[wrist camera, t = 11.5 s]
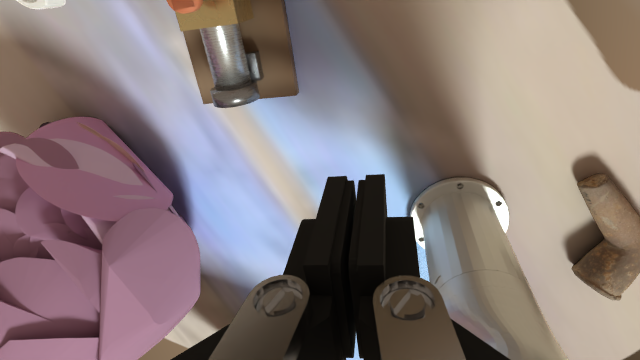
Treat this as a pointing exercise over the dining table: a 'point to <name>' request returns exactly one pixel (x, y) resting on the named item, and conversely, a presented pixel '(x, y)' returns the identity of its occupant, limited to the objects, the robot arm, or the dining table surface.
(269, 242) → the dining table surface
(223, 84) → the water pipe
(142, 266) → the flower arrangement
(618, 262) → the pipe
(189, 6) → the lever
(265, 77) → the valve board
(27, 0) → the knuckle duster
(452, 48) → the dining table surface
